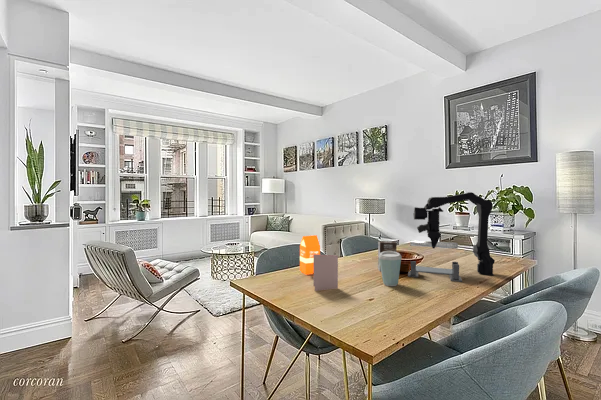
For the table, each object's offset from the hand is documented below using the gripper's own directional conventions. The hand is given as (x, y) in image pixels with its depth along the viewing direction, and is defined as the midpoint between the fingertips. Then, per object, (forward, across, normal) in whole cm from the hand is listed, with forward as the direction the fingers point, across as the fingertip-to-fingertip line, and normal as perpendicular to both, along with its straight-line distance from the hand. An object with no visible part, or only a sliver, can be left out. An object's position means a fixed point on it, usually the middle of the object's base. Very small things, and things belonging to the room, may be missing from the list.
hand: (433, 247), depth 169 cm
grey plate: (+13, 0, 0) cm, 13 cm away
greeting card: (+13, +52, -47) cm, 71 cm away
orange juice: (+13, +26, -63) cm, 70 cm away
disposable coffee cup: (+13, +34, -20) cm, 41 cm away
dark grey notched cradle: (+13, +13, 0) cm, 18 cm away
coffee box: (+13, +8, -24) cm, 29 cm away
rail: (-2, 0, 0) cm, 2 cm away
